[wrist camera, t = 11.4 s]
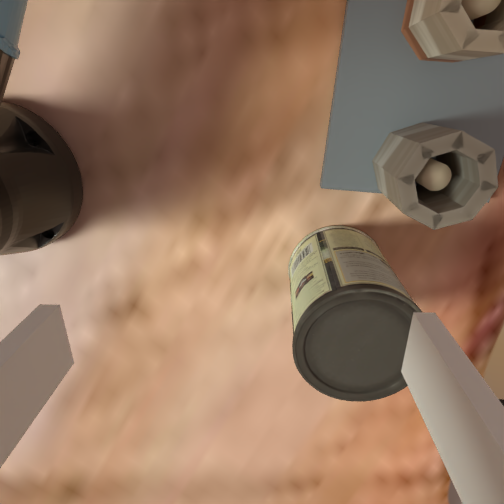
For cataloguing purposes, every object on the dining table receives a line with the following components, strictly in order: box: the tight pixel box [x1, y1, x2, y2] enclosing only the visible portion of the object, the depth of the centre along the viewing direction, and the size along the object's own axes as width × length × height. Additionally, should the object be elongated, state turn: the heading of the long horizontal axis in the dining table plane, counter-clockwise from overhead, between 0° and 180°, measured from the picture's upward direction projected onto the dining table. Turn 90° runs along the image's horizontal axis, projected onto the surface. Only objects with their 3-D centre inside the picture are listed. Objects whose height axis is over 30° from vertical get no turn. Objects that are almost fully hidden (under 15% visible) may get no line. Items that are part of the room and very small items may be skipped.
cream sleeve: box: [401, 0, 504, 63], centre depth 26 cm, size 7×7×8 cm
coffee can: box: [289, 226, 422, 401], centre depth 34 cm, size 10×10×14 cm
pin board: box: [320, 0, 504, 203], centre depth 30 cm, size 16×18×7 cm
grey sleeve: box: [372, 122, 498, 230], centre depth 31 cm, size 7×7×8 cm
